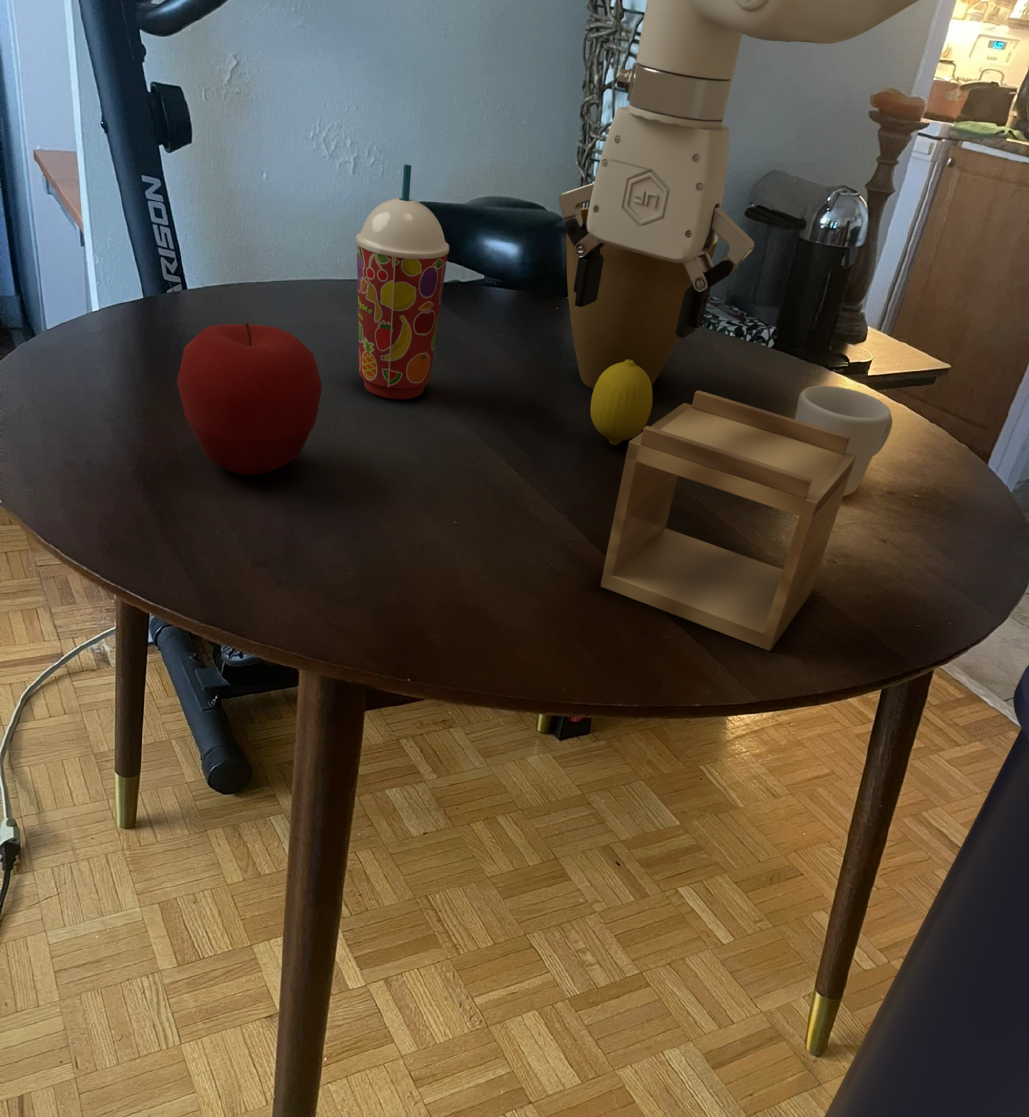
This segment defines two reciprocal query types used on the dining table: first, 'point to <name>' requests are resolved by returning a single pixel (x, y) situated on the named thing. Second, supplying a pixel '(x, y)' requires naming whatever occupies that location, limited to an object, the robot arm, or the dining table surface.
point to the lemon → (621, 401)
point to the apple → (249, 395)
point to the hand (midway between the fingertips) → (634, 318)
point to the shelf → (739, 468)
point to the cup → (848, 422)
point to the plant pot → (627, 311)
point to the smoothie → (399, 294)
